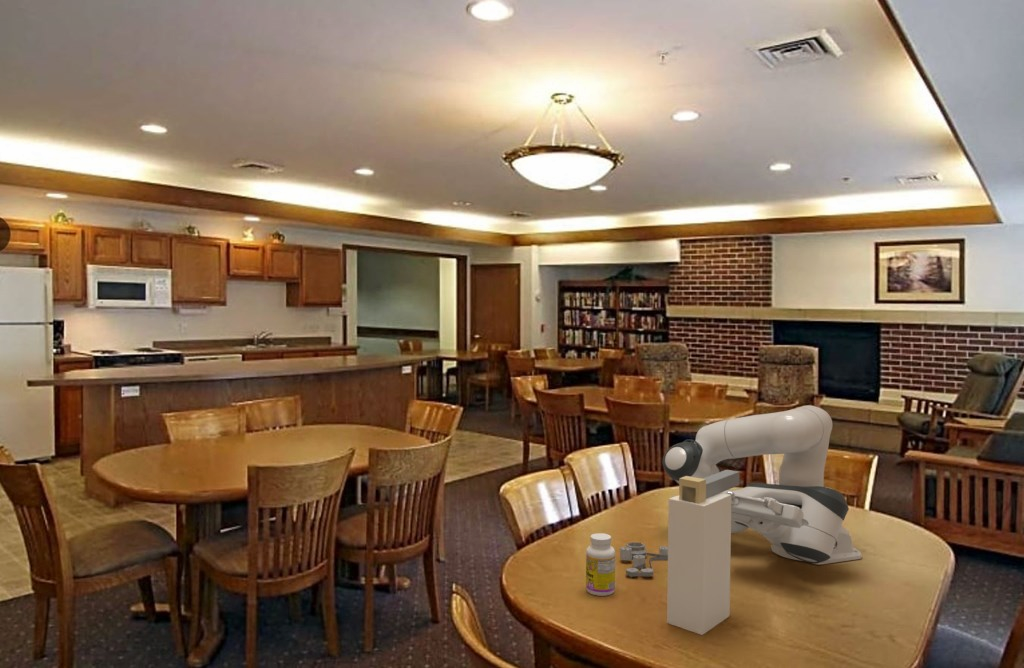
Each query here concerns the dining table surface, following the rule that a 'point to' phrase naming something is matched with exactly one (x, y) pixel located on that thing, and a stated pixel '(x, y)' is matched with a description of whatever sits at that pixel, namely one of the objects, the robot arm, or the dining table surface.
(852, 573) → the dining table surface
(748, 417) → the robot arm
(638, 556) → the pulley system
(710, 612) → the pillar
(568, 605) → the dining table surface
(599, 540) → the supplement bottle
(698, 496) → the bar
